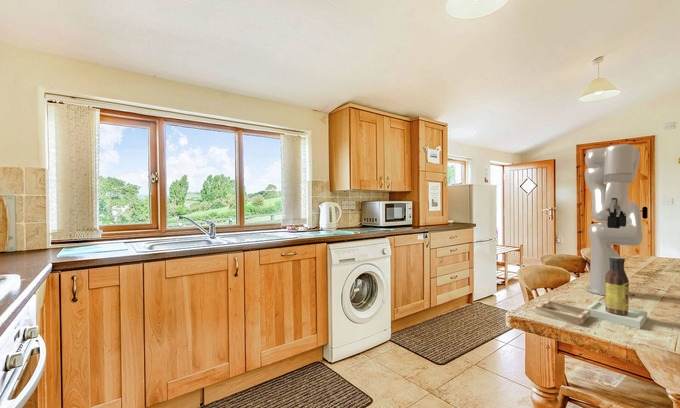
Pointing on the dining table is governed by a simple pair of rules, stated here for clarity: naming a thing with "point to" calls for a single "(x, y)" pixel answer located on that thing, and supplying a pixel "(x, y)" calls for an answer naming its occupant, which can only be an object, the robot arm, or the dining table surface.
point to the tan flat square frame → (582, 313)
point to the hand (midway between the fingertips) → (616, 227)
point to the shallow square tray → (631, 319)
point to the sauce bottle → (617, 287)
